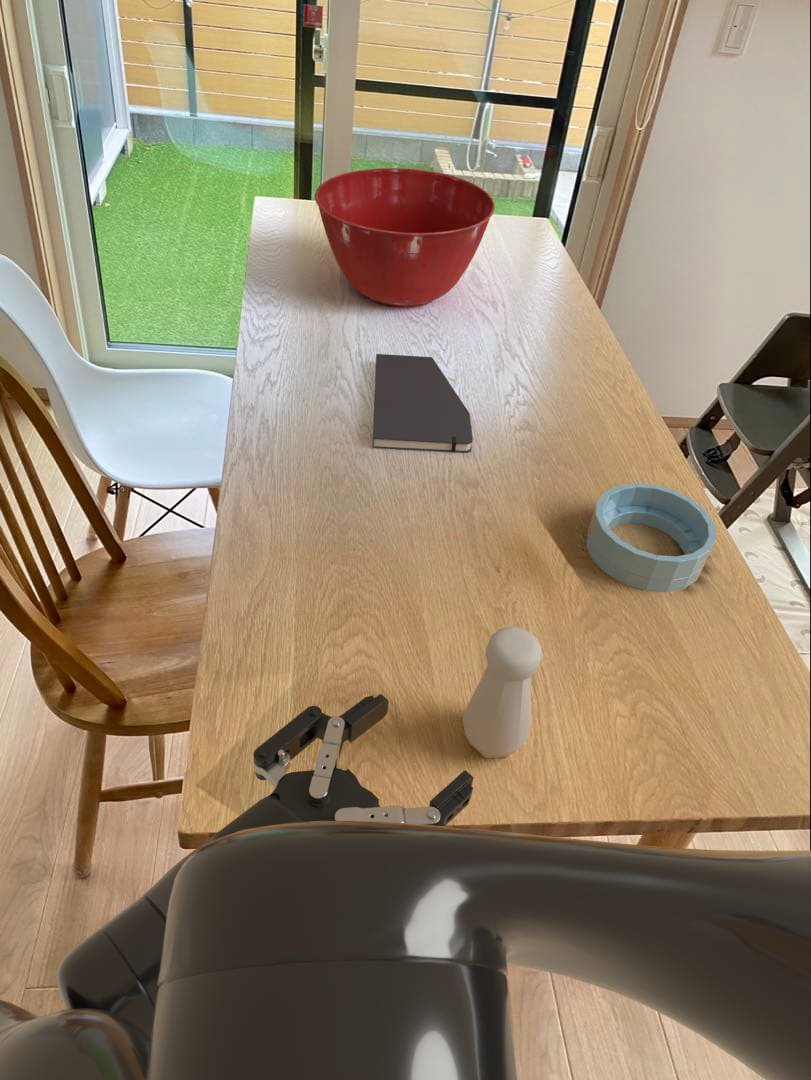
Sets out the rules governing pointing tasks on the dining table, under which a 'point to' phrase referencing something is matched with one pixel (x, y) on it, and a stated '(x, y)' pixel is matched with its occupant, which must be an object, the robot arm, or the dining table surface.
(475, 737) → the salt shaker
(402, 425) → the notebook
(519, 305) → the dining table surface
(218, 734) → the dining table surface
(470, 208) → the mixing bowl
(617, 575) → the light-blue faceted ring
